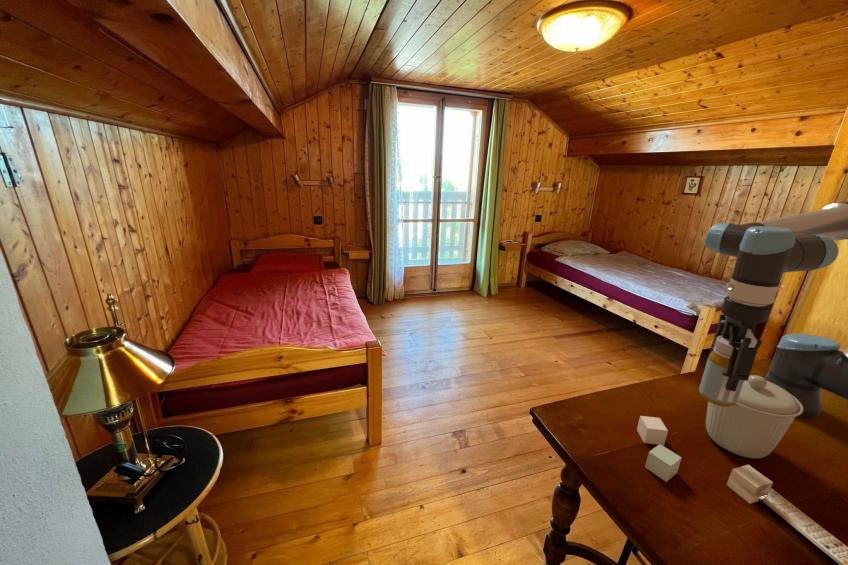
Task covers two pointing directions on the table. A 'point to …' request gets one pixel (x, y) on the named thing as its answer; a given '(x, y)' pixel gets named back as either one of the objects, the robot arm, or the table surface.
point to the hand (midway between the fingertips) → (718, 391)
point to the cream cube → (652, 430)
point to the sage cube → (663, 462)
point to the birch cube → (749, 483)
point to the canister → (753, 419)
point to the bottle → (718, 374)
